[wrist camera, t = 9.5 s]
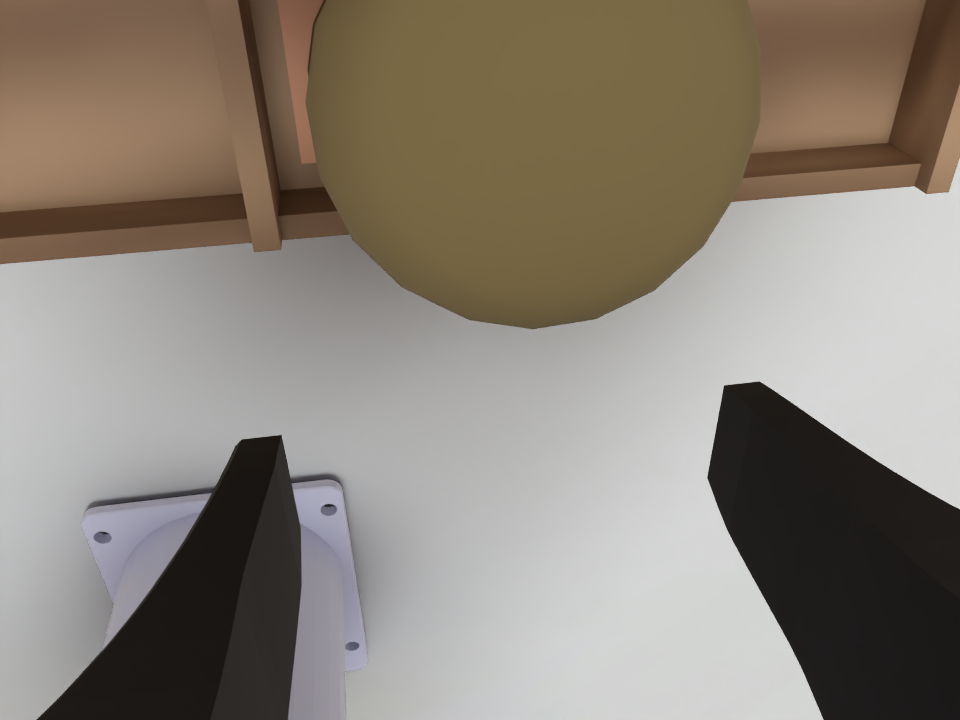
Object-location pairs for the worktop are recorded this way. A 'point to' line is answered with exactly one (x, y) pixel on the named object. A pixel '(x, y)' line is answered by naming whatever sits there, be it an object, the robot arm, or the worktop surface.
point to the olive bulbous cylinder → (532, 143)
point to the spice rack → (287, 136)
